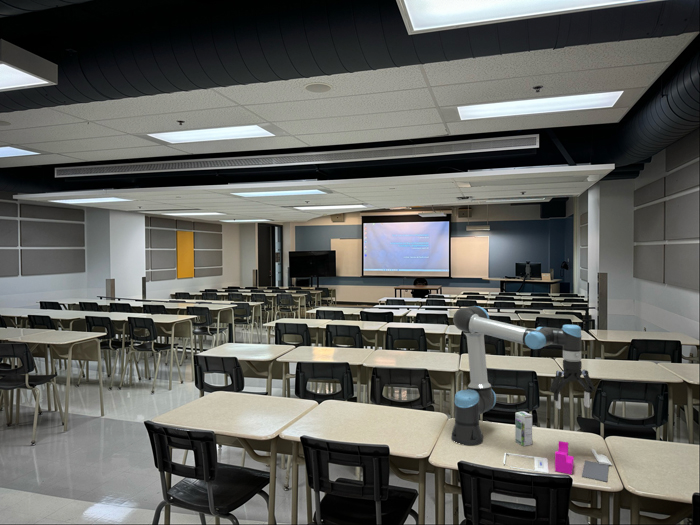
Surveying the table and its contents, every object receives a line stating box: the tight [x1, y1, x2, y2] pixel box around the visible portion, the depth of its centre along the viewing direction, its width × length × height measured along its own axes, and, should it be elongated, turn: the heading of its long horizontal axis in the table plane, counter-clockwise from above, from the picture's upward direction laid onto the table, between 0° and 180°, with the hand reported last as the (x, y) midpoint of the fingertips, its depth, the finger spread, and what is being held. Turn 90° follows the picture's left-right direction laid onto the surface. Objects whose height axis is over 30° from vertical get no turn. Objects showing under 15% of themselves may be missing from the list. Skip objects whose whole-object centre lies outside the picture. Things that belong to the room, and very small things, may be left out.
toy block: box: [554, 440, 575, 475], centre depth 198 cm, size 15×6×8 cm, turn 150°
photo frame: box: [502, 452, 549, 474], centre depth 202 cm, size 15×1×18 cm
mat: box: [581, 460, 610, 483], centre depth 193 cm, size 9×17×1 cm, turn 149°
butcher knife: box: [590, 448, 613, 466], centre depth 206 cm, size 5×15×1 cm, turn 164°
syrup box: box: [514, 411, 533, 447], centre depth 223 cm, size 6×6×14 cm
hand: (572, 407), depth 206 cm, fingers open, 13 cm apart
